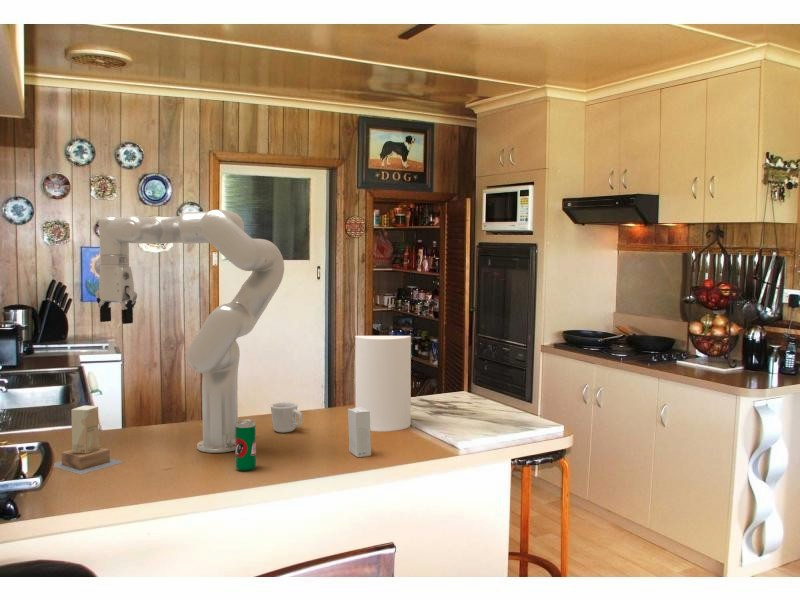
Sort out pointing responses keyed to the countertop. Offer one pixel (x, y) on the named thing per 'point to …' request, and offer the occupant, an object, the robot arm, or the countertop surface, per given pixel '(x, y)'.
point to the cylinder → (384, 380)
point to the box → (85, 429)
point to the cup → (285, 416)
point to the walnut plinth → (85, 458)
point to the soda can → (245, 445)
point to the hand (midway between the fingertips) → (116, 322)
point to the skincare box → (359, 432)
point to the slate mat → (111, 463)
